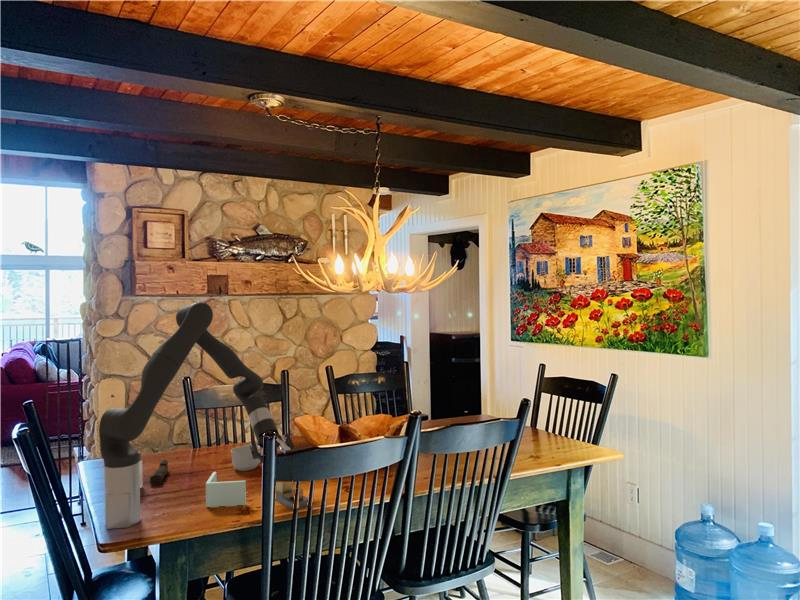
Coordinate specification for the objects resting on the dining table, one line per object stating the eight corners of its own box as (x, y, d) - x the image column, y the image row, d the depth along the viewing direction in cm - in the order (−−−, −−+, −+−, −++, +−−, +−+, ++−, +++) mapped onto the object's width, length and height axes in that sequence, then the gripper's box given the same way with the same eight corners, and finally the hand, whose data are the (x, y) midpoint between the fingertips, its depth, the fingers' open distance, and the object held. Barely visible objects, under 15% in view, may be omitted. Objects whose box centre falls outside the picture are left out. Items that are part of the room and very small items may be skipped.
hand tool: (161, 486, 202) (161, 472, 202) (149, 486, 201) (149, 473, 201) (173, 470, 220) (173, 458, 220) (162, 470, 220) (162, 458, 220)
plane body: (271, 498, 187) (271, 482, 186) (288, 493, 190) (288, 478, 190) (292, 510, 176) (292, 493, 176) (309, 505, 179) (309, 489, 179)
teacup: (253, 473, 213) (253, 452, 213) (226, 472, 215) (225, 451, 215) (268, 462, 227) (267, 442, 227) (242, 462, 229) (241, 441, 229)
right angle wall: (245, 505, 181) (245, 481, 180) (206, 507, 179) (205, 483, 179) (250, 492, 192) (250, 470, 192) (213, 494, 191) (213, 471, 191)
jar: (144, 483, 204) (144, 449, 204) (140, 491, 196) (139, 455, 196) (117, 486, 201) (116, 451, 201) (111, 493, 193) (110, 458, 193)
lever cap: (275, 491, 187) (275, 463, 187) (285, 488, 189) (284, 461, 189) (282, 495, 183) (282, 466, 183) (292, 492, 185) (292, 464, 185)
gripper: (246, 420, 191) (262, 462, 182) (285, 414, 200) (302, 454, 191) (240, 434, 195) (255, 475, 186) (278, 427, 204) (295, 466, 195)
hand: (279, 464), depth 189 cm, fingers open, 8 cm apart
